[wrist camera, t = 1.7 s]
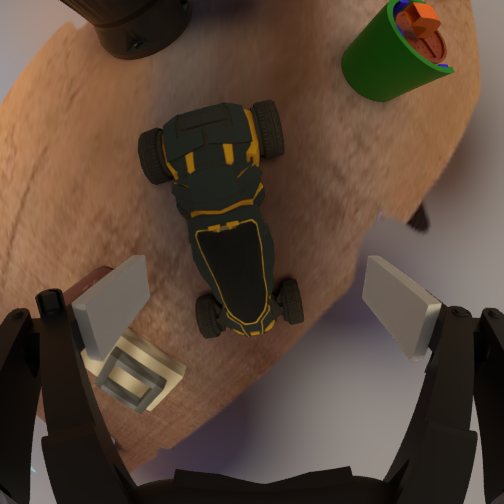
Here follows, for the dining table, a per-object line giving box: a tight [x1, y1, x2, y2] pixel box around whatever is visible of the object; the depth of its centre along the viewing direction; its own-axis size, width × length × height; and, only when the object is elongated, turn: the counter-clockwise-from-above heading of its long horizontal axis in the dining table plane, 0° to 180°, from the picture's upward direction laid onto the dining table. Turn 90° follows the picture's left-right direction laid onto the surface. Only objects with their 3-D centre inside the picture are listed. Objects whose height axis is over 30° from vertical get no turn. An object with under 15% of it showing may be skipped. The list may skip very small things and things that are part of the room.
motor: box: [342, 0, 454, 102], centre depth 21 cm, size 10×9×20 cm
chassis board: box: [81, 327, 187, 414], centre depth 41 cm, size 22×14×6 cm, turn 52°
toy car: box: [138, 100, 304, 339], centre depth 33 cm, size 16×32×10 cm, turn 12°
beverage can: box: [63, 267, 112, 306], centre depth 33 cm, size 6×6×15 cm
